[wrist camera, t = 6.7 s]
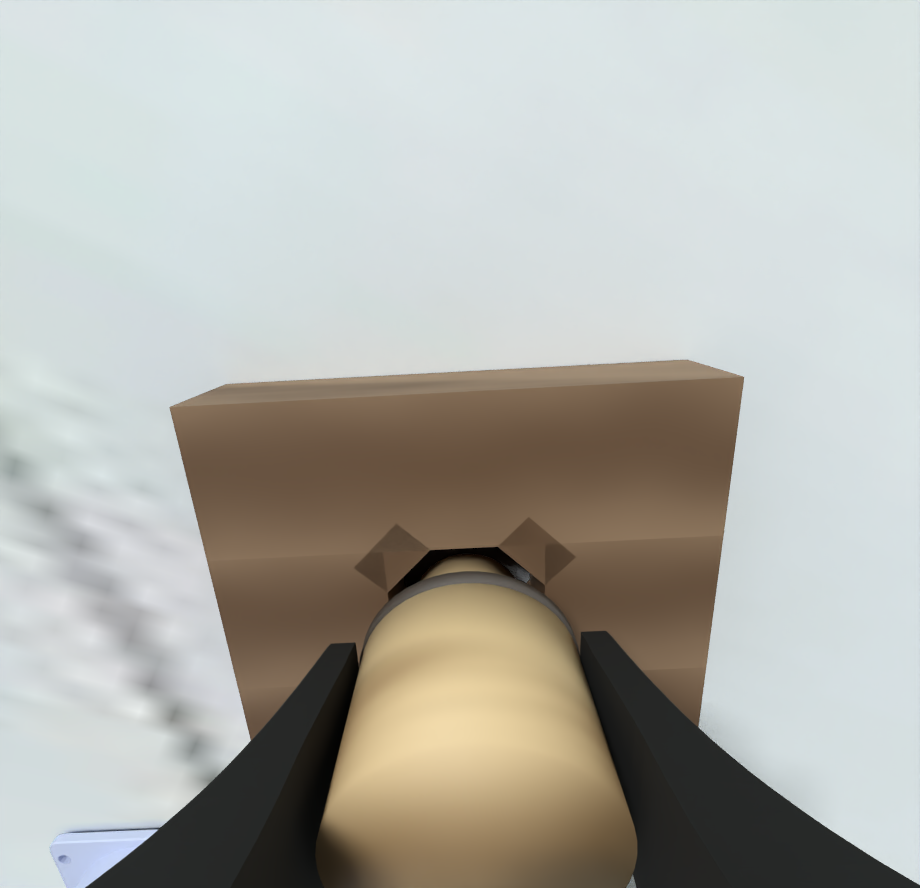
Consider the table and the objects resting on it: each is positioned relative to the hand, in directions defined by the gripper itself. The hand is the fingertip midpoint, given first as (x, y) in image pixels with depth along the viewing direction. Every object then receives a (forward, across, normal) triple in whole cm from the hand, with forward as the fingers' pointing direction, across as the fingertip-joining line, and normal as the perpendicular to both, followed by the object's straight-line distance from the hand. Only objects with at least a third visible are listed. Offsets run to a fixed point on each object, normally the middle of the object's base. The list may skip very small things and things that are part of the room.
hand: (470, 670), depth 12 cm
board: (+5, 0, 0) cm, 5 cm away
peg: (+3, 0, 0) cm, 3 cm away
